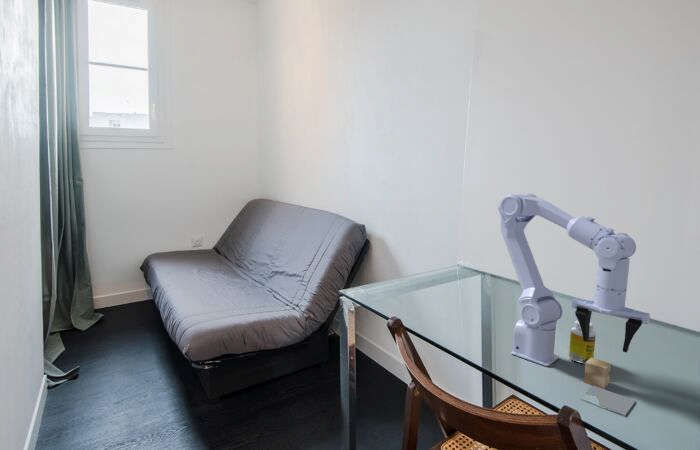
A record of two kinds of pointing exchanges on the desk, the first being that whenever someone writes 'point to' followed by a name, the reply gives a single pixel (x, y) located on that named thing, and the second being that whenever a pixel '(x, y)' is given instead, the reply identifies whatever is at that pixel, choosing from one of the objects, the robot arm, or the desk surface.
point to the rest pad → (611, 400)
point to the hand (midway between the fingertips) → (605, 345)
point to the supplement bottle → (581, 344)
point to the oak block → (597, 373)
